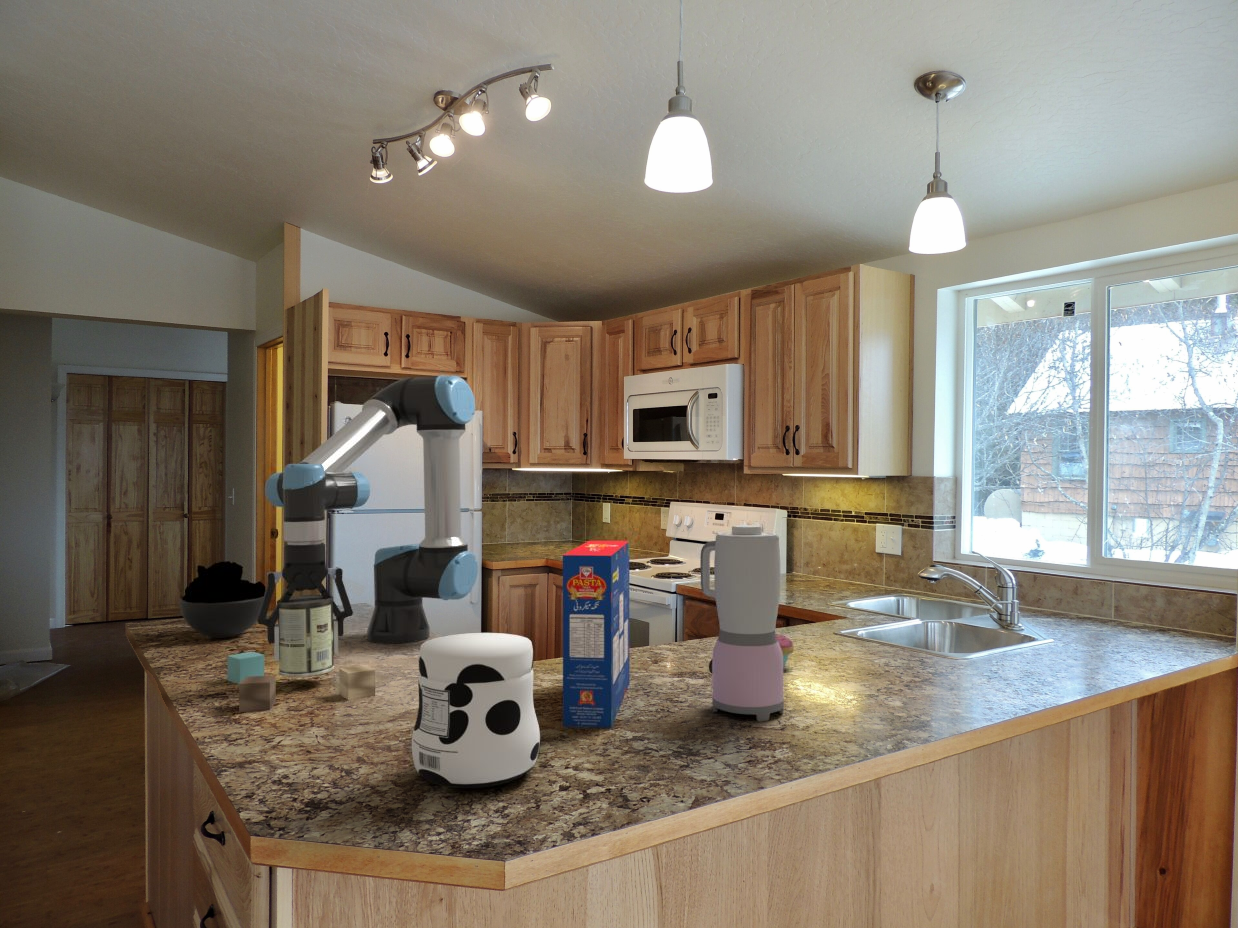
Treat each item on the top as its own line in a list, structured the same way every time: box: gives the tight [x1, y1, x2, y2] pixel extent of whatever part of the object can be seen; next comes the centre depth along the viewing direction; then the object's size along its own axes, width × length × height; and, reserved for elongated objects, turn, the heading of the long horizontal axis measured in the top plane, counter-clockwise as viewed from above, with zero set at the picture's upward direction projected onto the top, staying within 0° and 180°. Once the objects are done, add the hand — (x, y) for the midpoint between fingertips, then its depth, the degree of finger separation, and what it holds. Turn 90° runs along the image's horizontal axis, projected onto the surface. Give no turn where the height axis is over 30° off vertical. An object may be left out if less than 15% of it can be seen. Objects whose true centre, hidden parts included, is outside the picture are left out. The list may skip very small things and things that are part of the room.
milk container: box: [411, 632, 541, 789], centre depth 113 cm, size 17×17×18 cm
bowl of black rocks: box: [178, 560, 267, 639], centre depth 208 cm, size 20×20×19 cm
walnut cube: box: [238, 674, 277, 713], centre depth 146 cm, size 5×5×5 cm
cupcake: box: [775, 633, 795, 670], centre depth 174 cm, size 9×8×12 cm
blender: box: [699, 524, 785, 722], centre depth 144 cm, size 16×12×32 cm
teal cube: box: [226, 651, 265, 685], centre depth 165 cm, size 5×5×5 cm
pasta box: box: [562, 540, 631, 729], centre depth 148 cm, size 28×8×28 cm, turn 173°
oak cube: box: [338, 664, 376, 701], centre depth 154 cm, size 5×5×5 cm
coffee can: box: [276, 594, 335, 678], centre depth 161 cm, size 10×10×14 cm
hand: (306, 656), depth 161 cm, fingers closed on coffee can, 10 cm apart
